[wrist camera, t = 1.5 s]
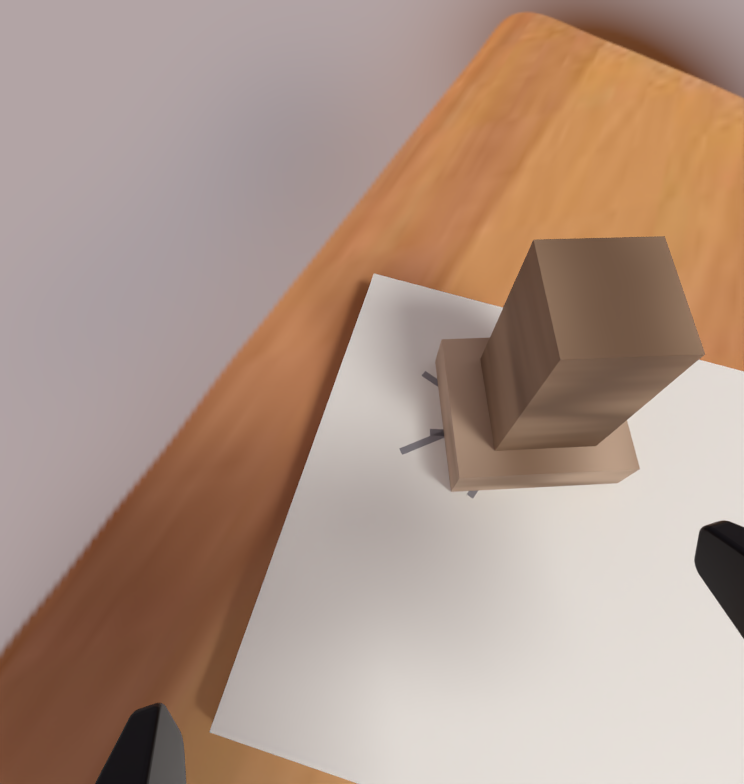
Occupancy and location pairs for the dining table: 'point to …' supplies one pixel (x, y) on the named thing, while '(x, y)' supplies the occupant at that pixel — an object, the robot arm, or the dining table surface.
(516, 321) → the brown pedestal block
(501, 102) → the dining table surface
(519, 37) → the dining table surface
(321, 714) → the board
